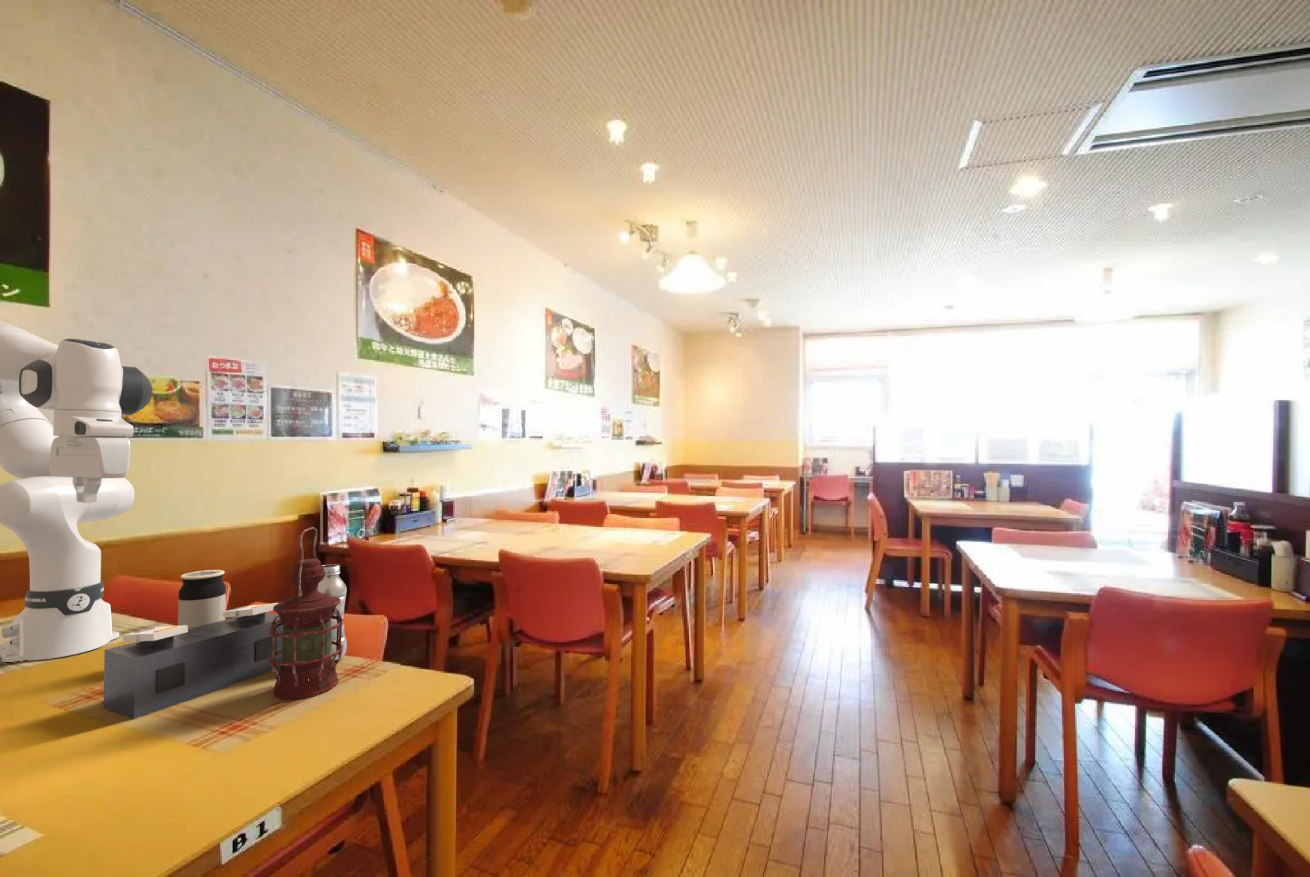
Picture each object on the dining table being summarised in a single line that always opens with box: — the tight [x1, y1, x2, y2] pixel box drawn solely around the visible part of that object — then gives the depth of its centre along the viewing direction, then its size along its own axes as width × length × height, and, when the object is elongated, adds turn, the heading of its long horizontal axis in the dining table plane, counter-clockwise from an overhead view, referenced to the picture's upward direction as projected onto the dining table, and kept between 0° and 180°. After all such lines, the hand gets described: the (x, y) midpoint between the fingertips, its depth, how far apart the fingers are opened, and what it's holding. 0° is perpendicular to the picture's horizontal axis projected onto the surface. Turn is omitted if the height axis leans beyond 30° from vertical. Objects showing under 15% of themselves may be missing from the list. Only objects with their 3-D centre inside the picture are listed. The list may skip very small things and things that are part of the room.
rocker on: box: [122, 625, 188, 643], centre depth 101 cm, size 10×5×1 cm, turn 66°
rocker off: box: [223, 602, 279, 619], centre depth 115 cm, size 10×5×1 cm, turn 66°
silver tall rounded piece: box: [318, 563, 348, 662], centre depth 120 cm, size 6×7×20 cm
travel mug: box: [177, 569, 227, 629], centre depth 122 cm, size 8×8×18 cm
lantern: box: [269, 526, 345, 700], centre depth 107 cm, size 12×12×30 cm
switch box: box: [102, 611, 284, 720], centre depth 108 cm, size 10×26×11 cm, turn 156°
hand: (86, 502), depth 104 cm, fingers closed
